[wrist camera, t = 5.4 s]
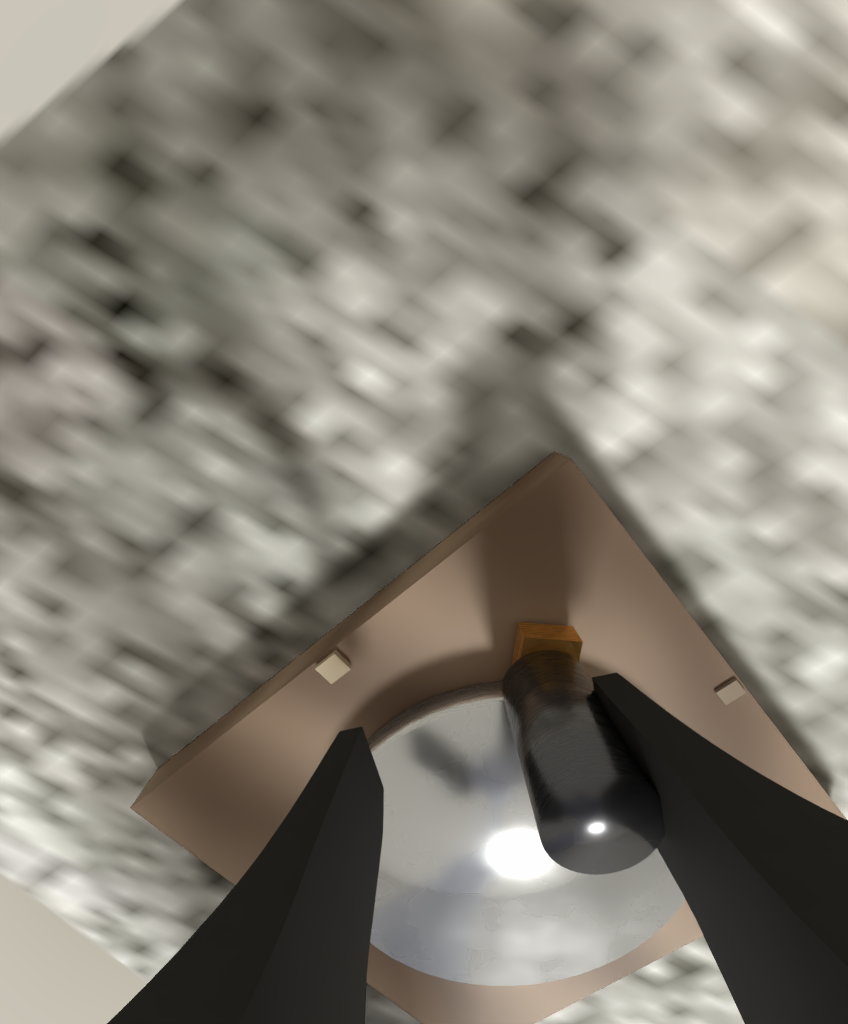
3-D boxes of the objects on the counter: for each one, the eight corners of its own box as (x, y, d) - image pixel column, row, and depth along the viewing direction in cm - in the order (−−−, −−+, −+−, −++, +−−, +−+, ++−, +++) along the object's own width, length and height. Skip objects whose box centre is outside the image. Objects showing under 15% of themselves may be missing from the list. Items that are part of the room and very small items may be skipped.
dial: (643, 958, 16) (734, 1190, 12) (328, 943, 16) (289, 1174, 11) (746, 635, 13) (943, 783, 8) (336, 607, 12) (283, 744, 8)
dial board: (464, 1008, 20) (468, 1064, 18) (156, 769, 16) (126, 813, 14) (830, 809, 16) (875, 855, 15) (554, 451, 13) (573, 460, 11)
